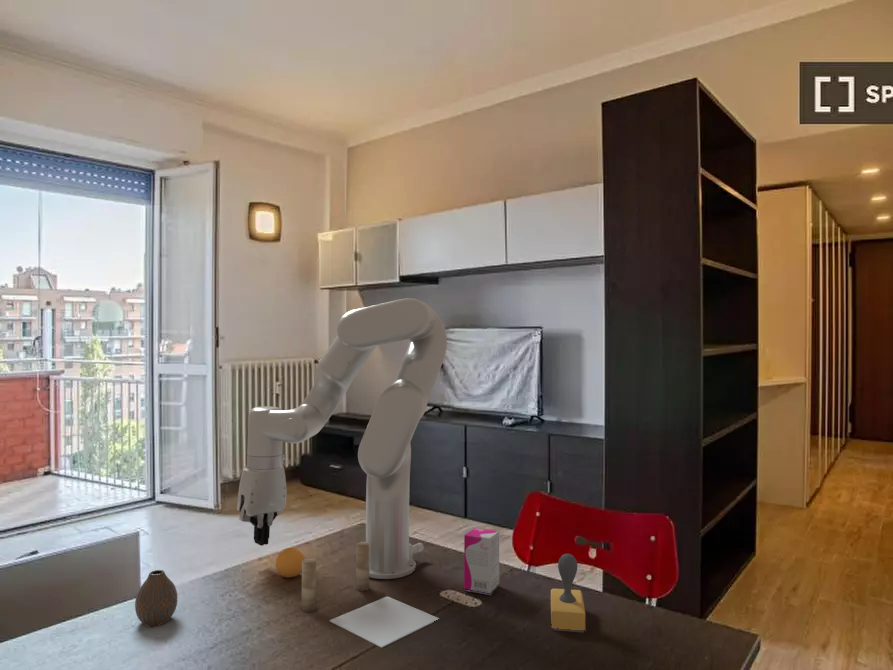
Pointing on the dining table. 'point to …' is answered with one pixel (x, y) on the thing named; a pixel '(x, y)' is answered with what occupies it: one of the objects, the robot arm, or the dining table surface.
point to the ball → (289, 562)
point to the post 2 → (362, 566)
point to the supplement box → (481, 560)
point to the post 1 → (308, 585)
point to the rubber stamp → (567, 598)
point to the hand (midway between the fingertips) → (261, 543)
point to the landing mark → (384, 621)
